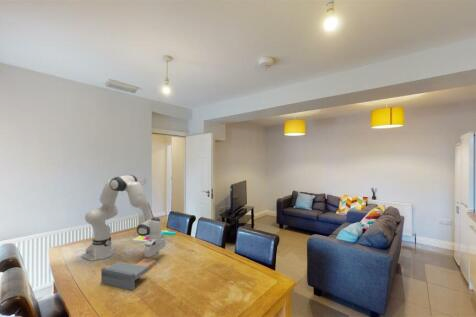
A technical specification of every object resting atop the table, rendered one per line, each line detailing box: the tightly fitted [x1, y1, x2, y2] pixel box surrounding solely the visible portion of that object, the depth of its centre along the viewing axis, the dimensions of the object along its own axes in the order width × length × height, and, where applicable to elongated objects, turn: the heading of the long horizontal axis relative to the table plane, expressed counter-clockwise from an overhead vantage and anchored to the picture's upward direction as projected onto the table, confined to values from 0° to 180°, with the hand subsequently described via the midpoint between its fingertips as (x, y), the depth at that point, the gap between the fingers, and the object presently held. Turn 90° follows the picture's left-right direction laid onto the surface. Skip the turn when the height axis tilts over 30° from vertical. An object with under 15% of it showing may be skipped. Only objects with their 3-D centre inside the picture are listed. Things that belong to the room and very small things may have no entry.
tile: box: [135, 258, 157, 275], centre depth 151 cm, size 10×14×4 cm
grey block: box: [100, 261, 149, 291], centre depth 135 cm, size 24×13×9 cm, turn 72°
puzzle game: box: [131, 230, 177, 245], centre depth 209 cm, size 30×3×30 cm
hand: (155, 257), depth 163 cm, fingers closed
